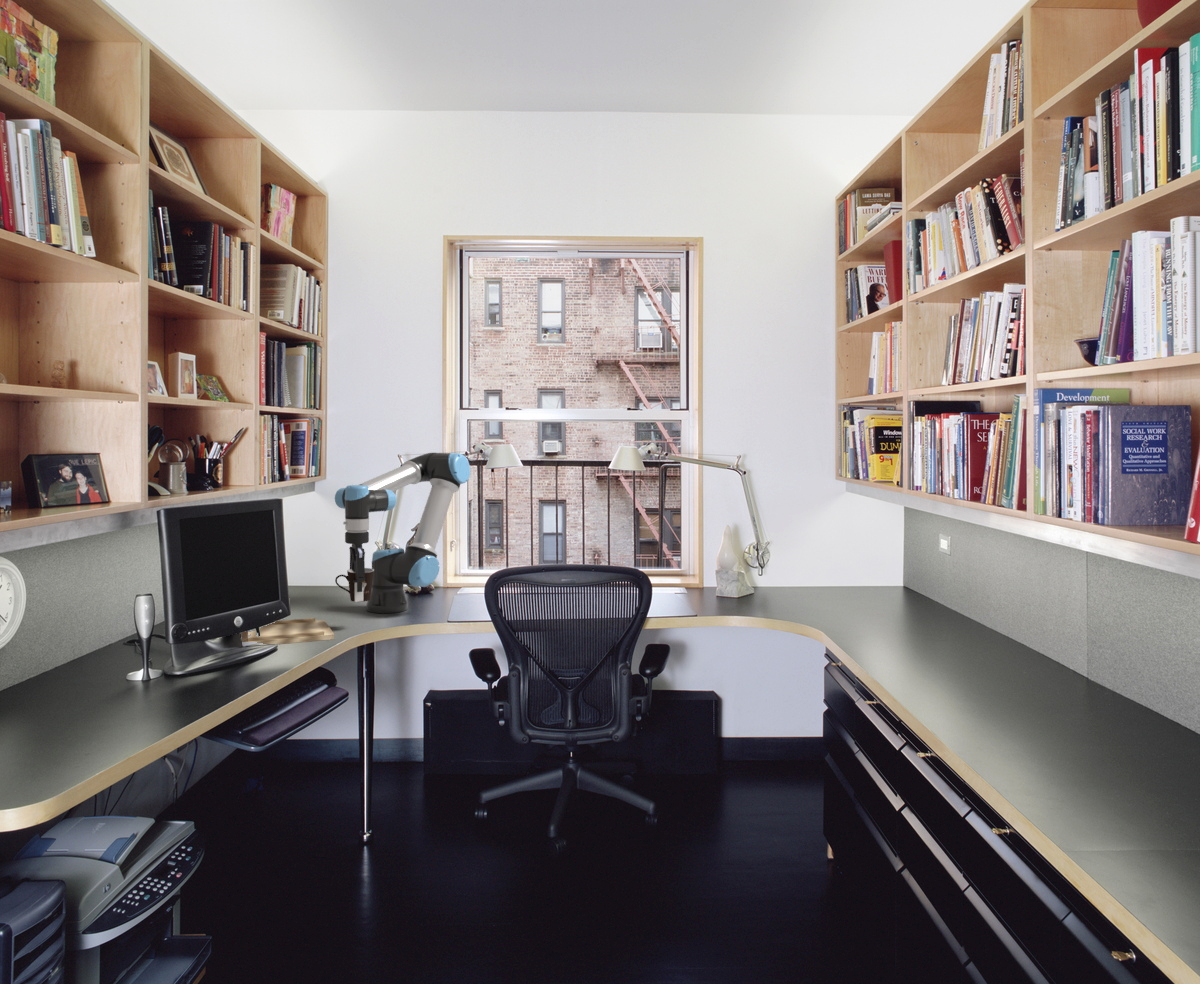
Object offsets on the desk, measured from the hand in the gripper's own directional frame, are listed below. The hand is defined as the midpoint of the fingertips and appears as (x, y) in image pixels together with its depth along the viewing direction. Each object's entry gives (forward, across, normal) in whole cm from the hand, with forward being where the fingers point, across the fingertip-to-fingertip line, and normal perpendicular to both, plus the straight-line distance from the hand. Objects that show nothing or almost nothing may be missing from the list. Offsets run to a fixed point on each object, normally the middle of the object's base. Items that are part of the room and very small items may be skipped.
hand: (357, 599), depth 237 cm
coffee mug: (0, -1, 0) cm, 1 cm away
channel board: (+9, +1, -22) cm, 24 cm away
